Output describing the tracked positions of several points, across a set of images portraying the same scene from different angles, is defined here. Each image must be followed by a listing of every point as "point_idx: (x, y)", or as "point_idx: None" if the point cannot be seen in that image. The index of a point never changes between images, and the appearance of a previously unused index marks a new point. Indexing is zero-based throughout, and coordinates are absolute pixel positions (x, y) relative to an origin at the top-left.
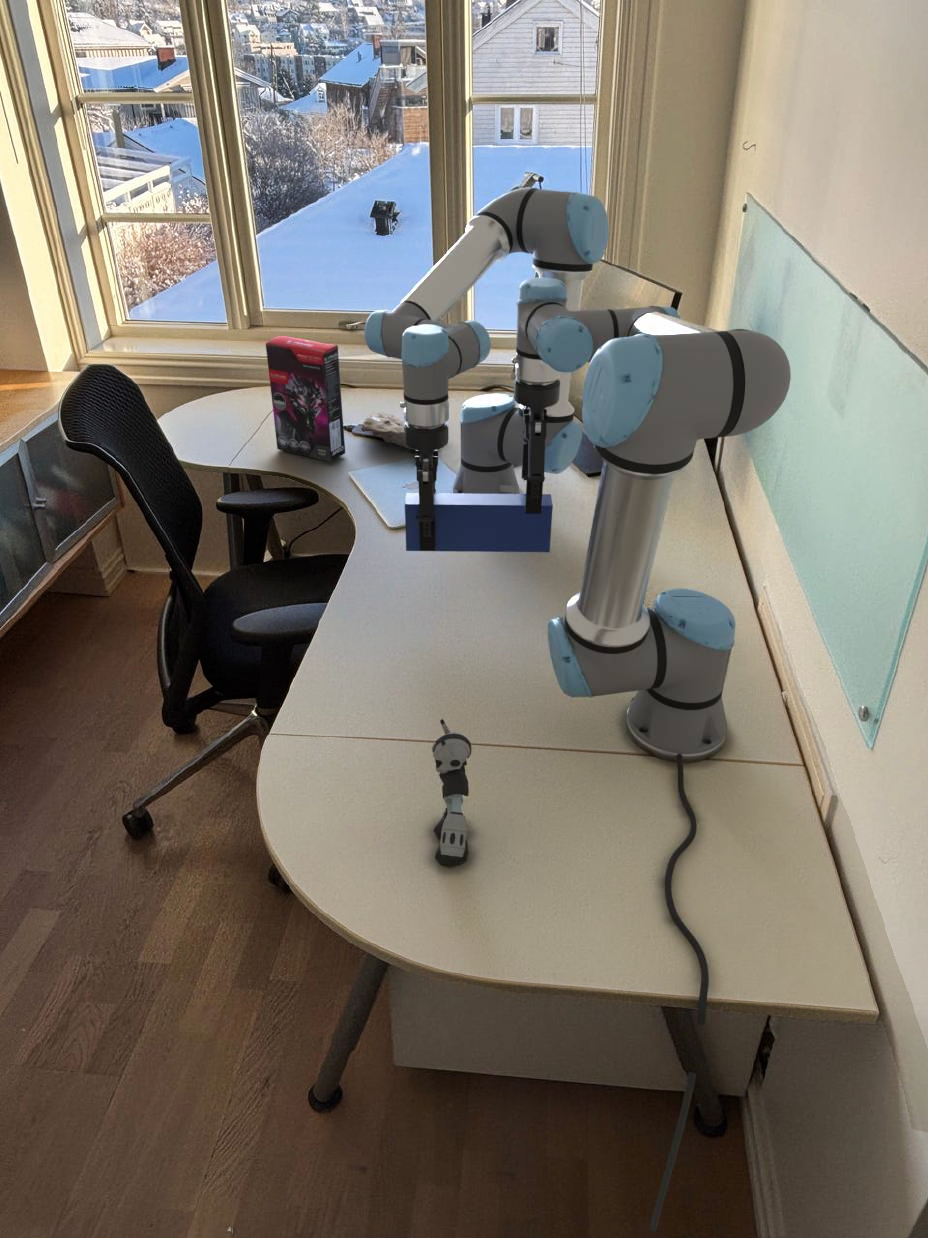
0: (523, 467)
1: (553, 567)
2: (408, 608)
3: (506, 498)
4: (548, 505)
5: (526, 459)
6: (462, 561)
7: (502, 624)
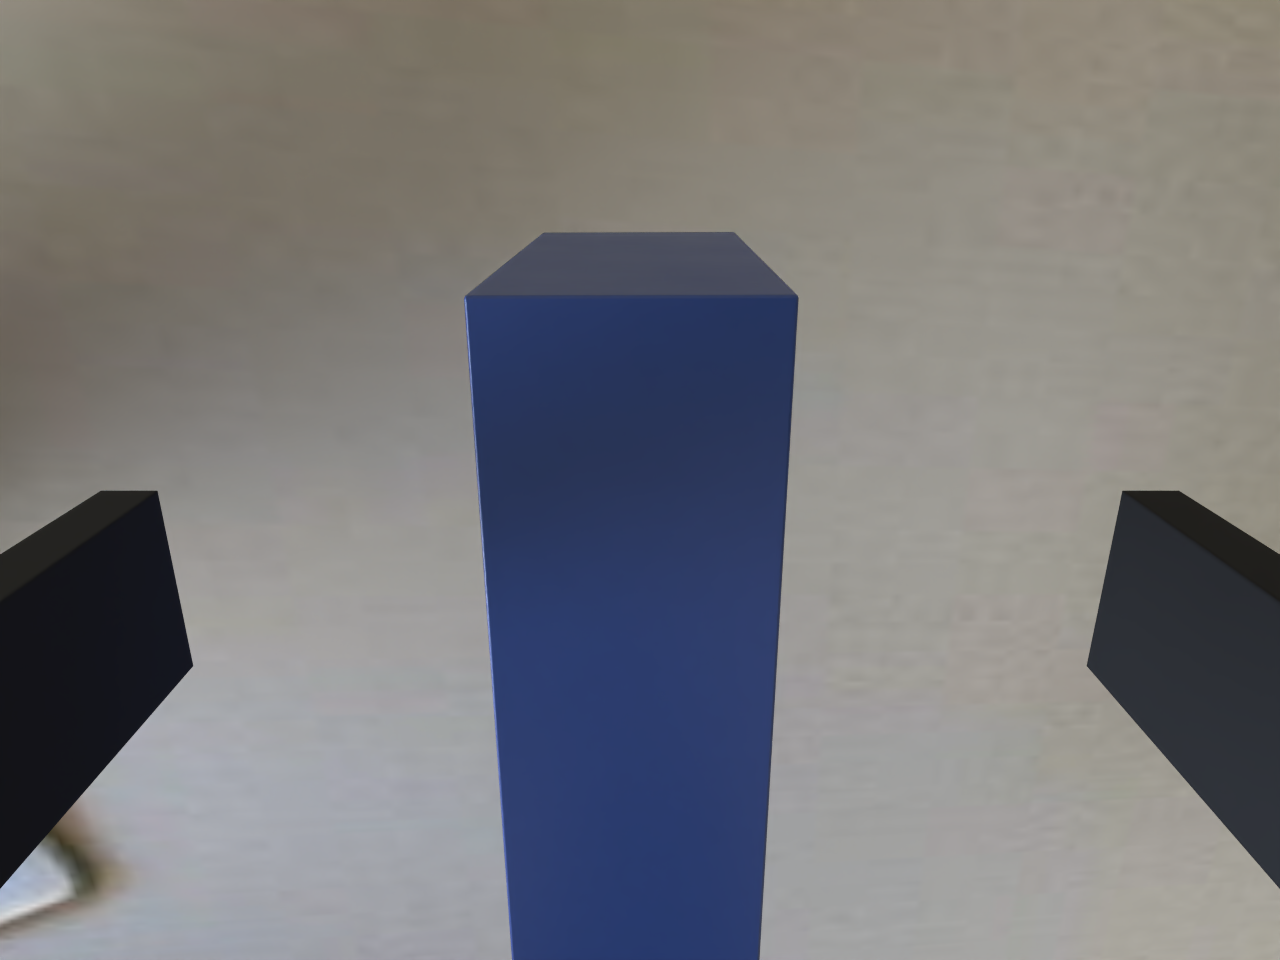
0: (104, 751)
1: (319, 132)
2: None
3: (610, 781)
4: (793, 350)
5: (6, 812)
6: (327, 602)
7: (886, 432)
